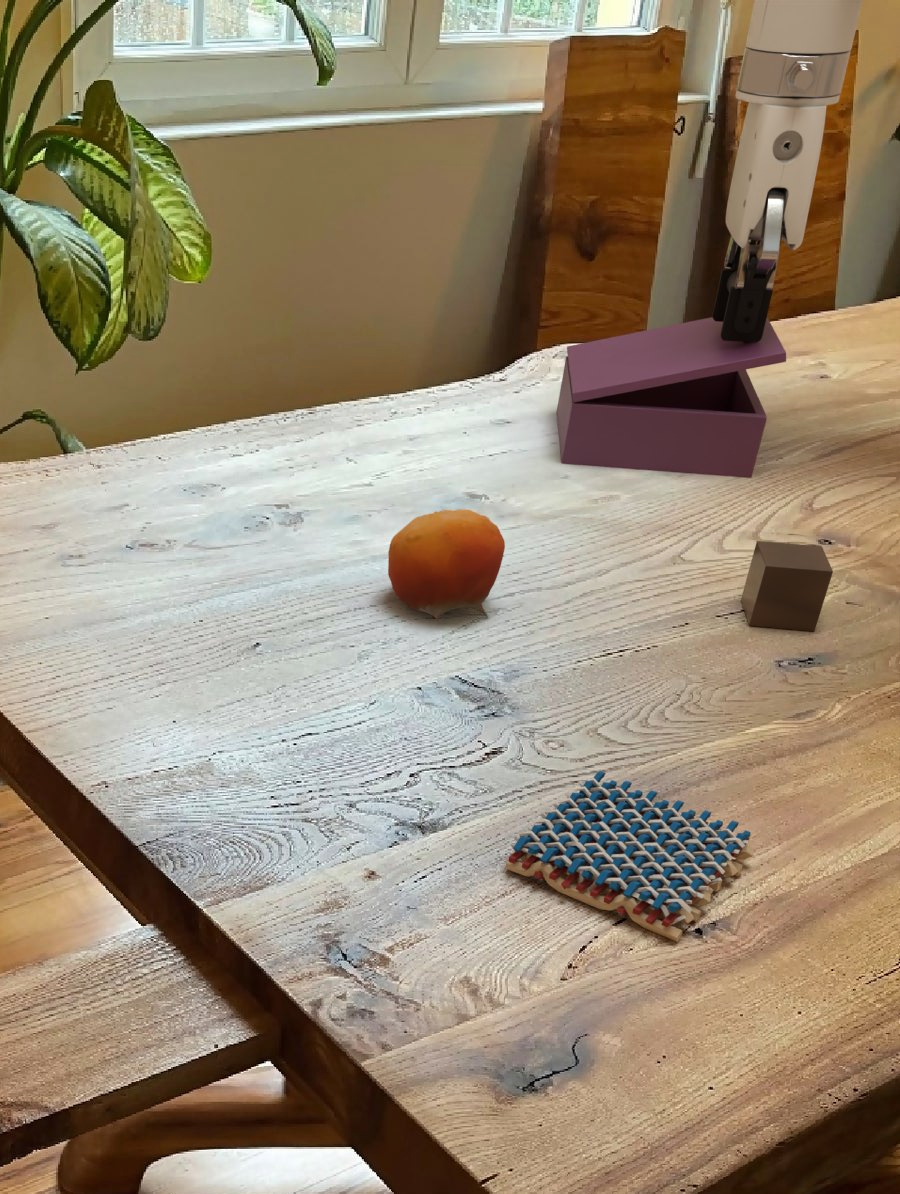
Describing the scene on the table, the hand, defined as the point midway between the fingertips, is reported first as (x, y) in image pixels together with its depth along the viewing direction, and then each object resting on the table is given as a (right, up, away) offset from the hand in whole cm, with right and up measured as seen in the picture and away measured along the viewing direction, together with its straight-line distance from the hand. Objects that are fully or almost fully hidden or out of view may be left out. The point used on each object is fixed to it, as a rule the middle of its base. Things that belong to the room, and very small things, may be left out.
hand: (736, 328), depth 122 cm
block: (-3, -28, -16) cm, 32 cm away
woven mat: (-22, -48, -42) cm, 67 cm away
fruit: (-27, -27, -16) cm, 41 cm away
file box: (-5, -9, +8) cm, 13 cm away
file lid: (-5, -2, +2) cm, 5 cm away
